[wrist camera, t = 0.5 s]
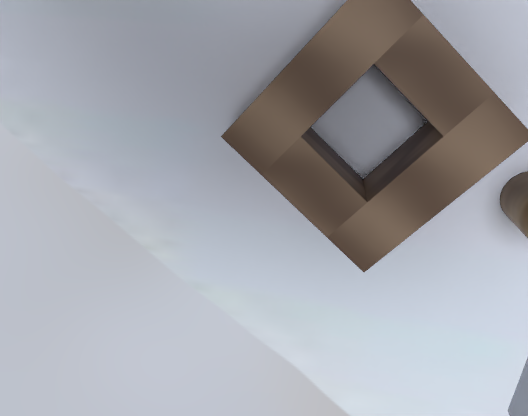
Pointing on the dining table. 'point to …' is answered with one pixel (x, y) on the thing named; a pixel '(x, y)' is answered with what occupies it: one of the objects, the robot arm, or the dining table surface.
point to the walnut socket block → (399, 162)
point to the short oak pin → (516, 201)
